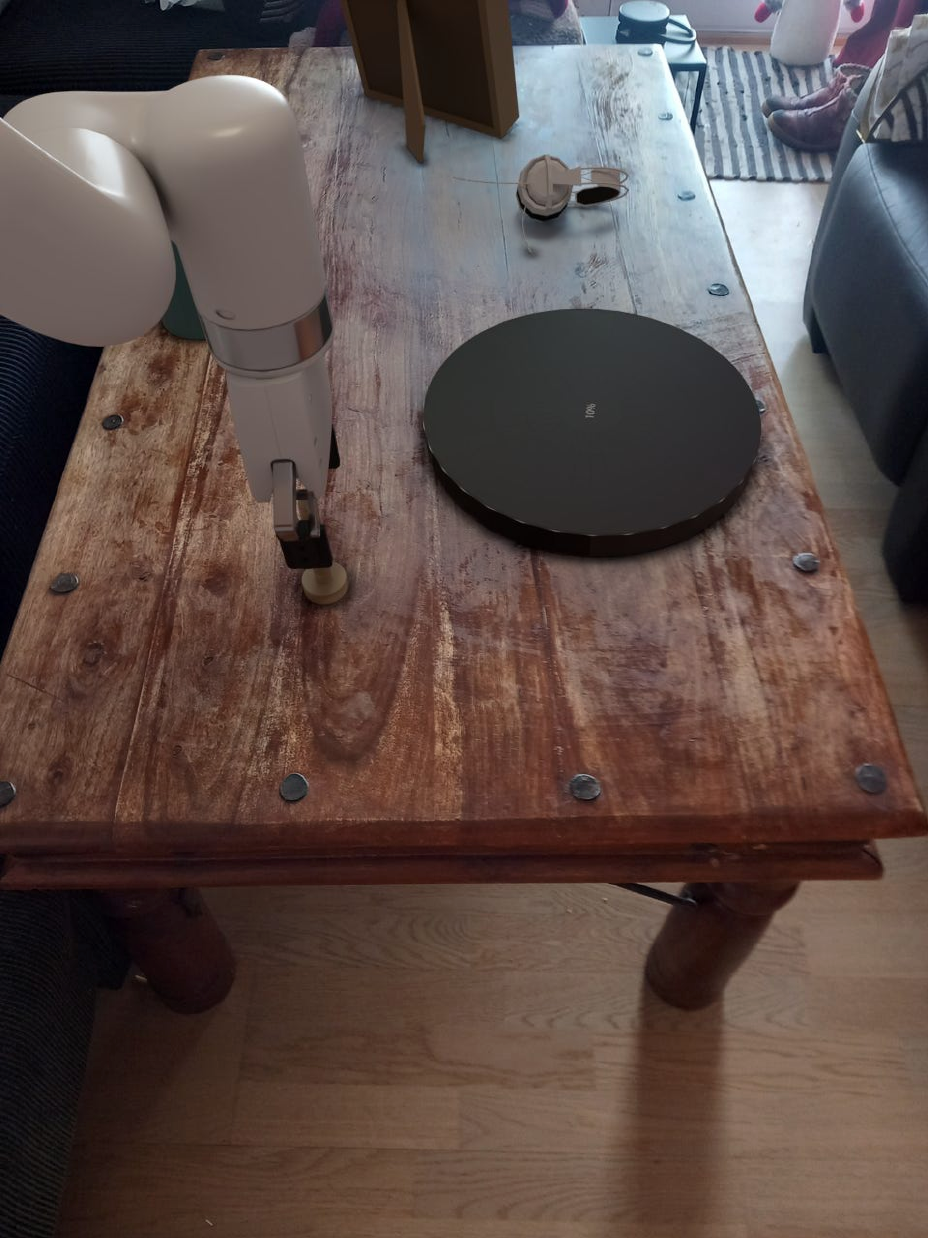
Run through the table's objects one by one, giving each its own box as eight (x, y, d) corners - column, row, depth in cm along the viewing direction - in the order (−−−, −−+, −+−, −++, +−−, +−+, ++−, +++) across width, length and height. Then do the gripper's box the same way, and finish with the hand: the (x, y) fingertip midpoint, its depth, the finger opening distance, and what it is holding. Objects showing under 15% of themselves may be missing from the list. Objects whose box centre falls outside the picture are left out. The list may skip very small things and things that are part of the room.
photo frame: (383, 83, 126) (364, -147, 106) (519, 124, 118) (526, -115, 98) (315, 129, 119) (281, -109, 98) (455, 176, 111) (448, -70, 91)
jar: (155, 341, 94) (117, 232, 84) (169, 288, 99) (135, 179, 89) (243, 338, 94) (215, 229, 84) (253, 285, 99) (228, 177, 89)
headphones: (445, 206, 107) (614, 199, 108) (454, 257, 101) (632, 249, 102) (445, 135, 100) (626, 128, 101) (454, 186, 94) (645, 178, 96)
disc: (429, 333, 94) (427, 307, 91) (724, 329, 93) (731, 304, 91) (419, 560, 76) (417, 536, 74) (783, 557, 75) (793, 533, 73)
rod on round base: (302, 605, 74) (279, 521, 65) (305, 570, 76) (284, 484, 68) (347, 603, 74) (330, 519, 65) (349, 568, 76) (333, 483, 68)
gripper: (222, 235, 59) (276, 434, 73) (180, 421, 49) (252, 610, 63) (339, 230, 59) (370, 430, 73) (321, 415, 49) (361, 606, 63)
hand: (315, 513), depth 68 cm, fingers open, 9 cm apart
